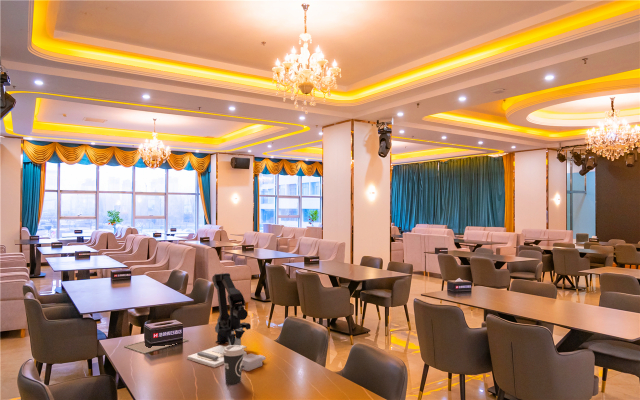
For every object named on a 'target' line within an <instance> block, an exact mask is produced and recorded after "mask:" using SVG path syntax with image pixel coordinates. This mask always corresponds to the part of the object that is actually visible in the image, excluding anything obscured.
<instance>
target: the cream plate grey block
mask: <svg viewBox="0 0 640 400" xmlns="http://www.w3.org/2000/svg"><path fill="white" fill-rule="evenodd" d="M241 339H242V338H241ZM241 339H239V338H236V337H235V342H234V345H240V346H242V347H243V349H244V350H245V349H247V346H246V345H243V344H242V340H241ZM230 345H231V343H230V340H229V342H228V345H224V346H225V347H227V346H230ZM225 347H223V348H225Z"/></svg>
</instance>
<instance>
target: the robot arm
mask: <svg viewBox="0 0 640 400" xmlns="http://www.w3.org/2000/svg"><path fill="white" fill-rule="evenodd" d="M211 279H212V280H211V281H212V283H213V287H215V290H217V291H216V293H217V303H218V311H219V313H218V314H219V315H218V317H217V321H216V322H217V323H216V324H215V327H214V330H215V333H217V335H216V341H215V343H217V344H219V345H225V344H229V340H230V343H231V345H234V342H235V338H239V339H242V337H243V336H244V333H245V332H246V330H247V331H248V330H251V328H252V327H251V326H252V325H251V324H250V323H249V322H243V320H244V321H245V320H246V319H247V318H248V311H247V309H245V306H246V301H245V298H244V294H243V293H242V292H241V291H240V290H239V289H238V288H236V286H235V284H234V282H233V279H232V278H231V273H228V272H226V273H225V272H224V273H223V272H222V273H214V274H213V276H212V278H211ZM226 292H227V293H226ZM228 305H229V306H228ZM228 307H229V310H228ZM241 321H242V322H241ZM244 329H245V330H244Z"/></svg>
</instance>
